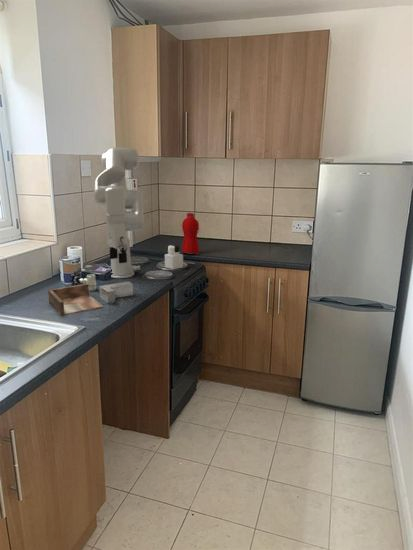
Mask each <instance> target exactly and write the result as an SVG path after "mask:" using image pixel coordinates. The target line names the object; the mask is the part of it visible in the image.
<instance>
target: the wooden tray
mask: <svg viewBox="0 0 413 550" xmlns="http://www.w3.org/2000/svg"><path fill="white" fill-rule="evenodd" d="M62 301H63V302H64V313H65V314H64V315H70V314H71V315H72V314H77V313H80V312H86V311H87V312H88V311H91V310H96V309H102V308H104V306H103V305H102V304H101V303H100V302H99V301H97V300H96V298H94V297H93V296H91V295H90V294H89V295H86V296H80V297H74V298H68V299H62ZM49 303H50V304H51V302H49ZM52 307H53V308H54V306H53V305H52ZM64 315H63V314H62V315H61V316H64Z"/></svg>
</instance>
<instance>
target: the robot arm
mask: <svg viewBox="0 0 413 550" xmlns="http://www.w3.org/2000/svg"><path fill="white" fill-rule="evenodd" d="M139 163H140V157H139V153H138V150H136V149H135V148H133V147H112V148H109V149H108V150H106V152H104V153H103V154H102V155H101V165H102V169H103V171H102V172H100V174H99V175H98V176H97V177H96V178H95V180H94V186H93V187H94V188H93V189H94V190H93V194H94V195H93V197H94V202H96V204H98V205H102V206H103V205H104V206H105V212H106V213H105V214H106V242H107V243H106V244H107V245H108V247H109V248H108V249H109V259H110V268H111V269H112V273H113V274H112V275H111V277H110V278H113V279H126V278H127V279H128V278H132V277H134V275H135V272H134V271H139V270H141V266H140V265H132V264H131V263H132V261H131V260H132V259H131V242H130V238H129V236H128V235H127V232H137V231H138V232H140V231H142V230H143V229H144V226H145V225H144V224H145V221H144V220H145V219H144V218H145V217H144V200H143V195H142V192H141V191H140V190H139V189H128V188H127V180H126V178H125V177H126V171H136V170H137V169H138V168H139ZM127 210H129V211H127ZM130 210H131V211H130Z"/></svg>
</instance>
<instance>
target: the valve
mask: <svg viewBox="0 0 413 550" xmlns="http://www.w3.org/2000/svg"><path fill="white" fill-rule="evenodd" d="M70 278H71V279H69V282H70V283H71V285H70V286H76V285H83V284H88V285H89V292H90V291H91V292H92V291H96V289H97V279H96V274H94V273H90V274H87V275H86V277H85V278H83V276H81V273H79V272H74V273H73V274H71V275H70Z"/></svg>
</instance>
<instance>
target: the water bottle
mask: <svg viewBox="0 0 413 550" xmlns="http://www.w3.org/2000/svg"><path fill="white" fill-rule="evenodd" d="M181 227H182V228H181V229H182V233H183V241H182V247H181V248H182V249H181V252H182V251H183V252H185V253H198V254H199V253H200V245H199V242H198V234H200V231H199V230H200V228H199V227H200V224H199V220H198V219H196V218H195V214H194V213H191V212H187V213H186V218H185V219H183V220H182V224H181Z"/></svg>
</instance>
